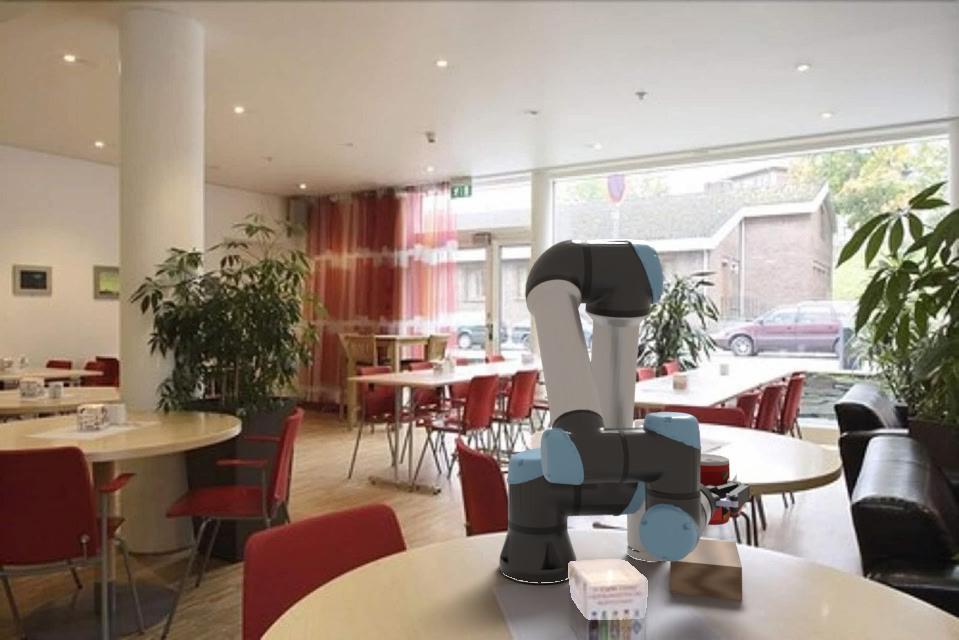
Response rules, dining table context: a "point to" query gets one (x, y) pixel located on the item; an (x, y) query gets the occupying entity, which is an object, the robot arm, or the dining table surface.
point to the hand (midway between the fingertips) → (709, 478)
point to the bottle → (637, 529)
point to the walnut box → (709, 571)
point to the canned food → (715, 481)
